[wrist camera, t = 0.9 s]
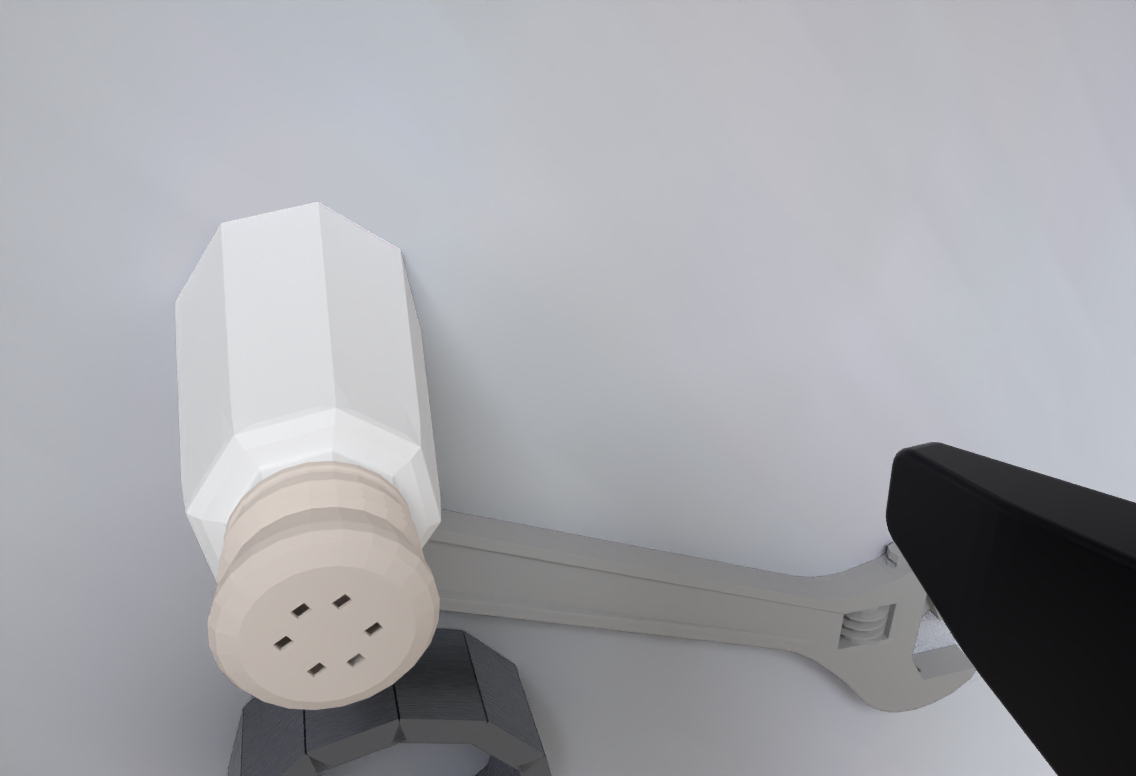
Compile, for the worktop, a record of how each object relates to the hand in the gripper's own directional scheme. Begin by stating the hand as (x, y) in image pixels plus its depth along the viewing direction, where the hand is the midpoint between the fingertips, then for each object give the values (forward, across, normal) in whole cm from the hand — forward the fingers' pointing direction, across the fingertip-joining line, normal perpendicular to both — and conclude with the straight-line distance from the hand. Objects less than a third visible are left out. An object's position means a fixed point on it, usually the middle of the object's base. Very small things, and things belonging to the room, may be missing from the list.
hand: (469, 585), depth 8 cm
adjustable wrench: (+14, -8, +13) cm, 21 cm away
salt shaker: (+13, +2, +2) cm, 14 cm away
